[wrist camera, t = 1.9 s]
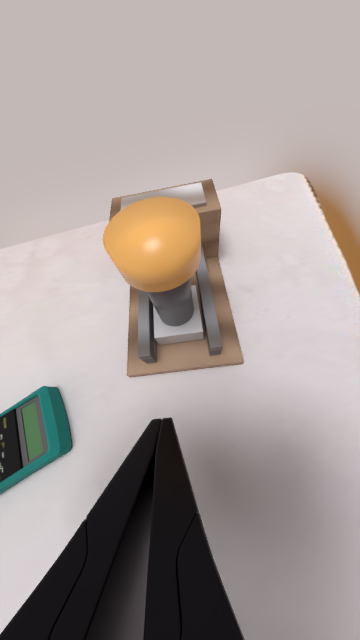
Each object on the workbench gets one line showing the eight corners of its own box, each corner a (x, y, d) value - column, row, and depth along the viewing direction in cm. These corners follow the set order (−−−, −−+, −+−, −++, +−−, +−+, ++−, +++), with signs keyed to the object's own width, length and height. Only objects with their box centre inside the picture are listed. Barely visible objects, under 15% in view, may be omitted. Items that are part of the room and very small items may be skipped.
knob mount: (242, 363, 20) (263, 338, 13) (130, 377, 21) (89, 361, 14) (210, 233, 30) (212, 175, 22) (133, 247, 31) (110, 195, 23)
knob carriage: (206, 338, 21) (207, 255, 9) (156, 345, 21) (98, 273, 10) (199, 295, 24) (193, 189, 12) (154, 302, 24) (107, 206, 13)
